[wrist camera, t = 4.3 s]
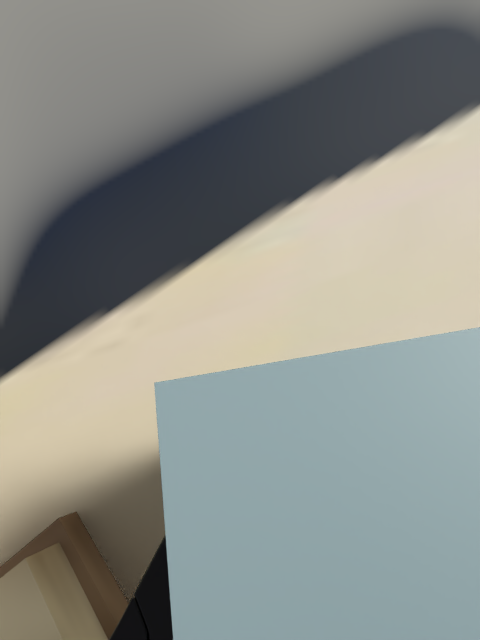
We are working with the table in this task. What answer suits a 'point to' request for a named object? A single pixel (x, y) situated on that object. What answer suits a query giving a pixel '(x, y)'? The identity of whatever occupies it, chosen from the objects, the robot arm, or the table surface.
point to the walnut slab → (80, 567)
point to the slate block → (326, 495)
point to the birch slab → (46, 601)
